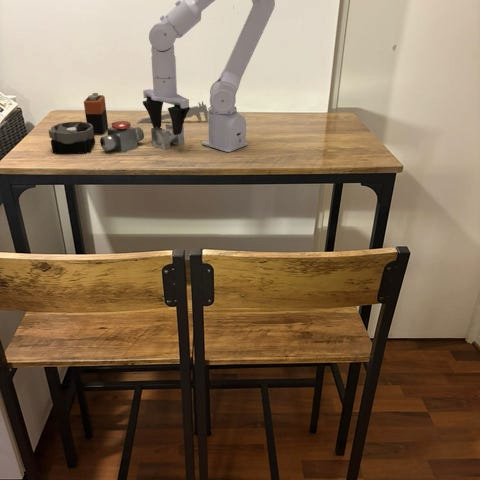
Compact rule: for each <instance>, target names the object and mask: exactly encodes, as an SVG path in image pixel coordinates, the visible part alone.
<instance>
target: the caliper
mask: <svg viewBox="0 0 480 480" xmlns="http://www.w3.org/2000/svg"><path fill="white" fill-rule="evenodd" d="M197 103H198V105H193V106H189V107H190V109H189V111H188V113H187V115H186V117H185V119H188V118H192V117H193V116H195V117H196V118H197V119H198V122H199V123H202V122H203V121H202V117H201V113H203V115H204V119H205V121H206V122H205V123H208V108H207V105H206V104H204V101H201V102H199V101H198V102H197ZM169 119H170V120H171V116H170V113H169V112H168V113H167V112H165V113H162V114H161V121H164V120H169ZM141 123H142V124H150V123H152V122H151V119H150V116H147V117H142V118H141V119H140V120H138V121H137V123H136V124H141Z"/></svg>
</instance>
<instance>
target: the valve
mask: <svg viewBox="0 0 480 480" xmlns="http://www.w3.org/2000/svg"><path fill="white" fill-rule="evenodd" d="M106 132H107V135H104V136H101V137H100V138H99V139H100V140H99V143H100V146H101V148H102V150H103V151H105V152H109V151H112V150H114V151H117V152H120V153H125V152H127V151H131V150H133V149H137V148H138V142H142V141H143V140H144V139H145V134H144V133H145V132H144V130H143V129H142V128H141V127H140V126H137V127H133V126H131V122H130V121H126V120H118V121H114V122H112V123H111V127H108V128H107V129H106Z"/></svg>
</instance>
